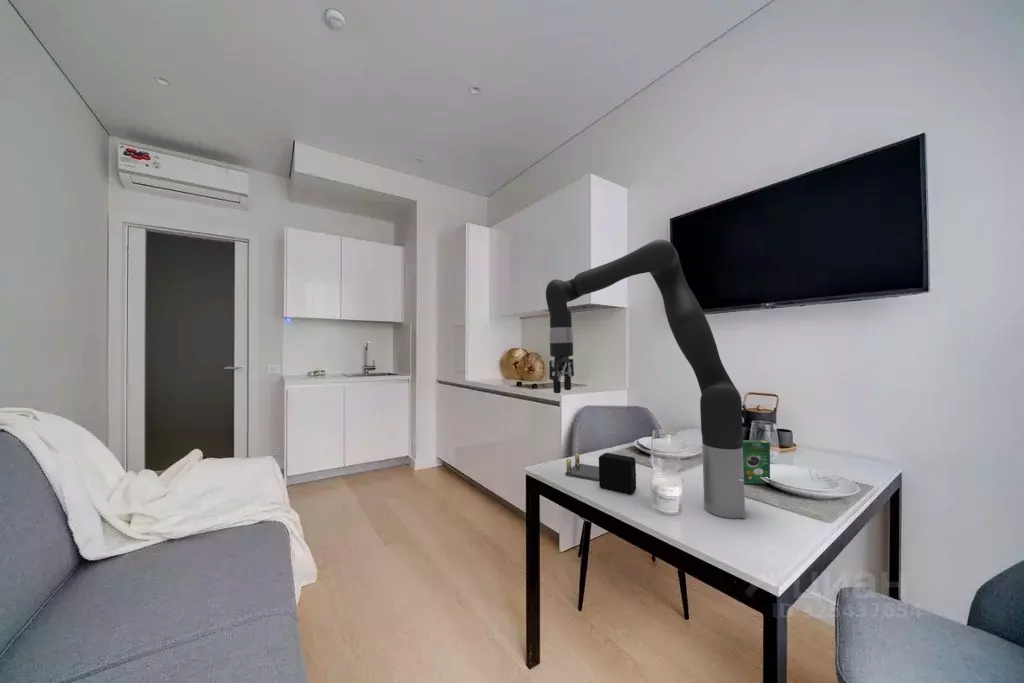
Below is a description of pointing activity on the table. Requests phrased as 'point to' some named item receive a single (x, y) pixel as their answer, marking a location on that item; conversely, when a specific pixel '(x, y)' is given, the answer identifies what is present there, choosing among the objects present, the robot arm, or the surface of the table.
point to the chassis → (582, 470)
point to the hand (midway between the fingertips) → (562, 391)
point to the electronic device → (617, 473)
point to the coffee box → (756, 461)
